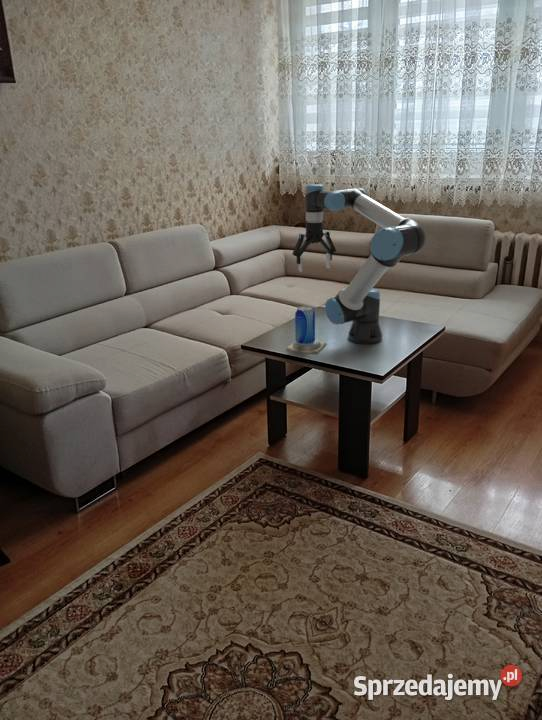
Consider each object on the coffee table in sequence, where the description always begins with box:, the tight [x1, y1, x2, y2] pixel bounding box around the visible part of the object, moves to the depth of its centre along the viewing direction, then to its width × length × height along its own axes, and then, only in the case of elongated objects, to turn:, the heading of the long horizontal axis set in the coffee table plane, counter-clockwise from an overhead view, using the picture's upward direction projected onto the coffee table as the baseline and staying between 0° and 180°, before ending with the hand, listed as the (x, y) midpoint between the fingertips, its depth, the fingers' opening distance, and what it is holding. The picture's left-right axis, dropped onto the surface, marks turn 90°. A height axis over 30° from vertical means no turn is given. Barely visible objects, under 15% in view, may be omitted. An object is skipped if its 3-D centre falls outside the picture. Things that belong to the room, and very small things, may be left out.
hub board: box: [286, 338, 327, 355], centre depth 266 cm, size 14×12×2 cm
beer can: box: [294, 305, 316, 346], centre depth 262 cm, size 8×8×16 cm
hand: (314, 269), depth 272 cm, fingers open, 13 cm apart
